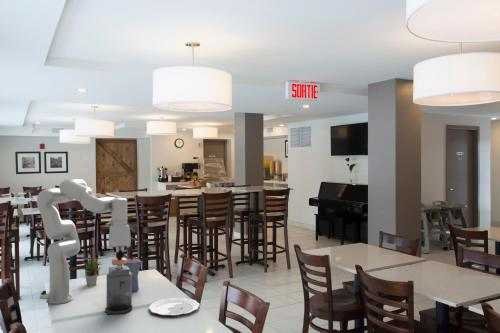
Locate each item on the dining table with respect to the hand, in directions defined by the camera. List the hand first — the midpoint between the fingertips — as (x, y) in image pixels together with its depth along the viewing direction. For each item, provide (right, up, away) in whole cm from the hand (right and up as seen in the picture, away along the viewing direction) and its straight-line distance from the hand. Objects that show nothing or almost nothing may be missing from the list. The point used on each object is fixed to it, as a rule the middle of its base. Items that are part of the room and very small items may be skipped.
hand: (119, 259), depth 208 cm
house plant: (-29, -25, +40) cm, 56 cm away
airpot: (0, -25, 0) cm, 25 cm away
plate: (+27, -26, +3) cm, 37 cm away
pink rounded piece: (0, -6, 0) cm, 6 cm away
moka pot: (-4, -25, +32) cm, 41 cm away
